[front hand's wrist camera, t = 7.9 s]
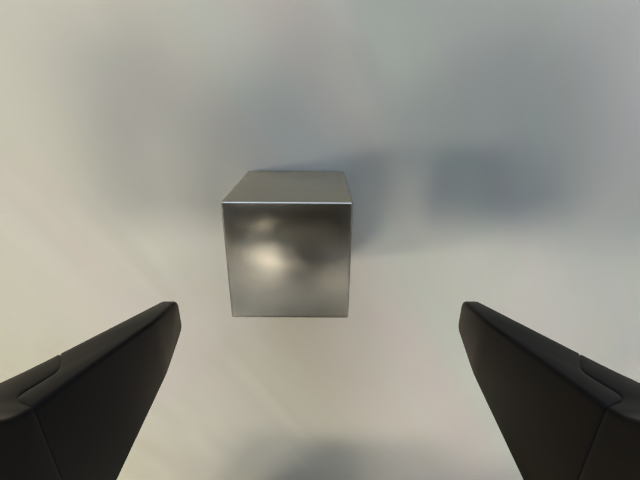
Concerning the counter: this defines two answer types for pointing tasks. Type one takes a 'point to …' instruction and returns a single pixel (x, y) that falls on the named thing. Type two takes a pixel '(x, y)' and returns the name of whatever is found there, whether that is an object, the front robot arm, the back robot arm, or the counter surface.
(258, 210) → the block
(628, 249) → the counter surface
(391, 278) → the counter surface
